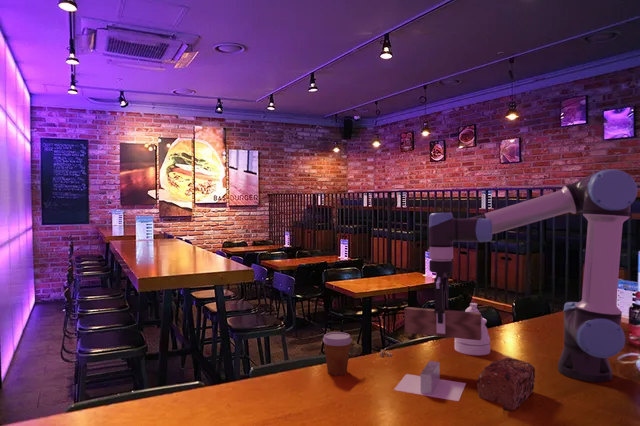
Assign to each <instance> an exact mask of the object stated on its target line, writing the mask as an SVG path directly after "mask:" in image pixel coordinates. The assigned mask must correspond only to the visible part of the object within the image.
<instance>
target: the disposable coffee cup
mask: <svg viewBox="0 0 640 426" xmlns="http://www.w3.org/2000/svg"><path fill="white" fill-rule="evenodd" d="M352 341H353V339H352V338H351V335H350V334H349V333H346V332H341V331H340V332H337V331H335V332H334V331H333V332H328V333H325V334H324V335H323V338H322V342H323V345H324V353H325V354H324V355H325V360H326V369H327V374H329V375H333V376H343V375H346V374H347V372H348V364H349V357H350V348H351V343H352Z"/></svg>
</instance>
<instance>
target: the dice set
mask: <svg viewBox="0 0 640 426" xmlns="http://www.w3.org/2000/svg"><path fill="white" fill-rule="evenodd" d="M393 355H394V354H393V353H392V352H389V351H387V352H386V351H385V349H380V352H379V357H385V356H386V357H388V358H393Z"/></svg>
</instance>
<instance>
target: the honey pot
mask: <svg viewBox="0 0 640 426" xmlns="http://www.w3.org/2000/svg"><path fill="white" fill-rule="evenodd" d="M477 307H478V303H475V302H470V303H469V307H467V308H465V311H464V312H477V313H481V312H480V310H479V309H478V308H477ZM487 321H488V320H487V319H486V318H484V317H483V316H482V315H481V336H482V338H481V340H471V339H461V338H454V350H455V351H456V352H458V353H461V354H463V355H469V356H485V355H489V354H490V353H491V337H490V335H489V331H488V327H487V326H486V324H487Z"/></svg>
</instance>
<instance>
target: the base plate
mask: <svg viewBox="0 0 640 426" xmlns="http://www.w3.org/2000/svg"><path fill="white" fill-rule="evenodd" d="M466 384H467V383H466V382H460V381H453V380H447V379H441V378H440V381H439V382H438V384H437V386H436V388H435V389H434V391H433V393H432V395H429V394H423V393H421V375H416V374H410V373H409V374H408V373H406V374H405V375H404V376H403V377H402V379H401V380H400V381H399V382H398V384H397V385H396V386H395V387H394V389H393V391H398V392H402V393H408V394H415V395H421V396H427V397H431V398H436V399H438V398H439V399H442V400H443V399H444V400H447V401H455V402H459V401H460V399H461V397H462V394H463V392H464V389H465V387H466Z"/></svg>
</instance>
